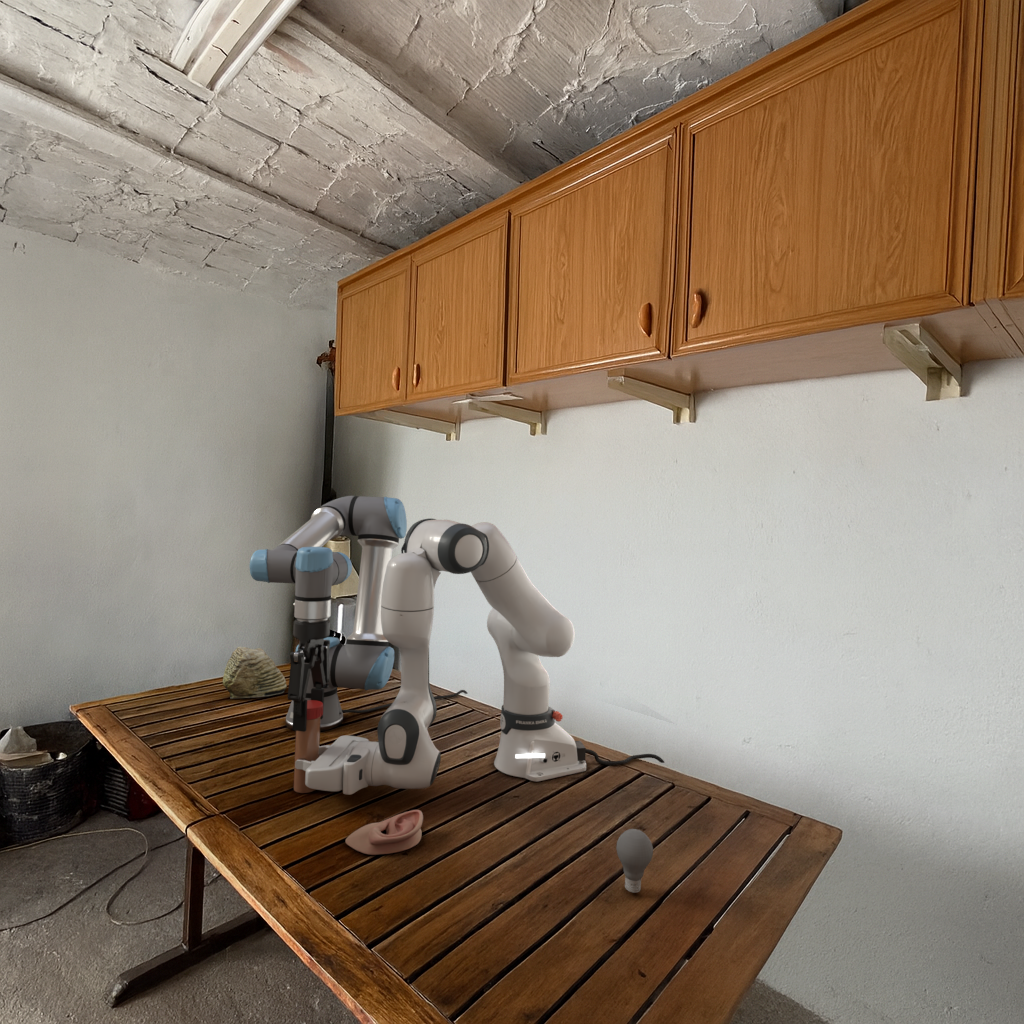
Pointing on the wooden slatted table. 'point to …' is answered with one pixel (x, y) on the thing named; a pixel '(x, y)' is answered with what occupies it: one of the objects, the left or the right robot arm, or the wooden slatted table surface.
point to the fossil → (252, 674)
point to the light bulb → (634, 857)
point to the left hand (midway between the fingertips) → (308, 723)
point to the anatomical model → (388, 834)
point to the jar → (306, 752)
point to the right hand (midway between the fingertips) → (302, 757)
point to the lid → (314, 709)
